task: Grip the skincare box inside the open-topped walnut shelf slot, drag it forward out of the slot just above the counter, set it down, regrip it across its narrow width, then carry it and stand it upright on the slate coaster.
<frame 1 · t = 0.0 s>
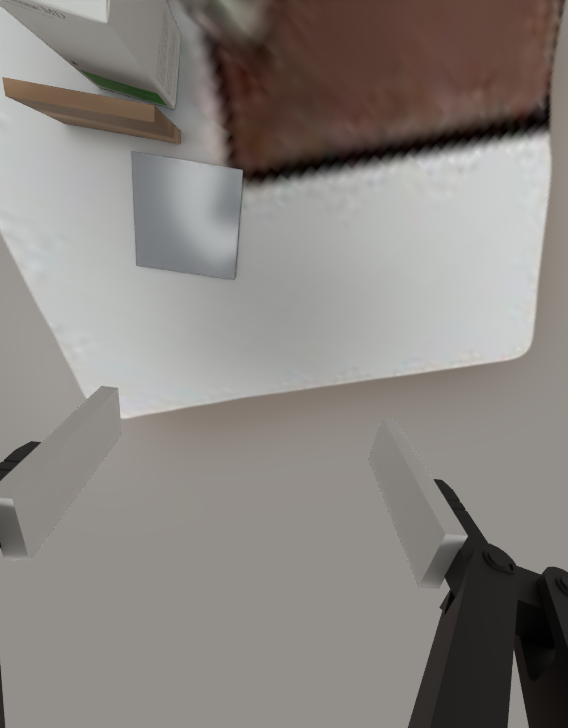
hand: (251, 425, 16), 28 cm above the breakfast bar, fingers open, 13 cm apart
walnut shelf slot: (119, 55, 31), on the breakfast bar
slate coaster: (188, 220, 37), on the breakfast bar
skincare box: (141, 60, 31), on the breakfast bar
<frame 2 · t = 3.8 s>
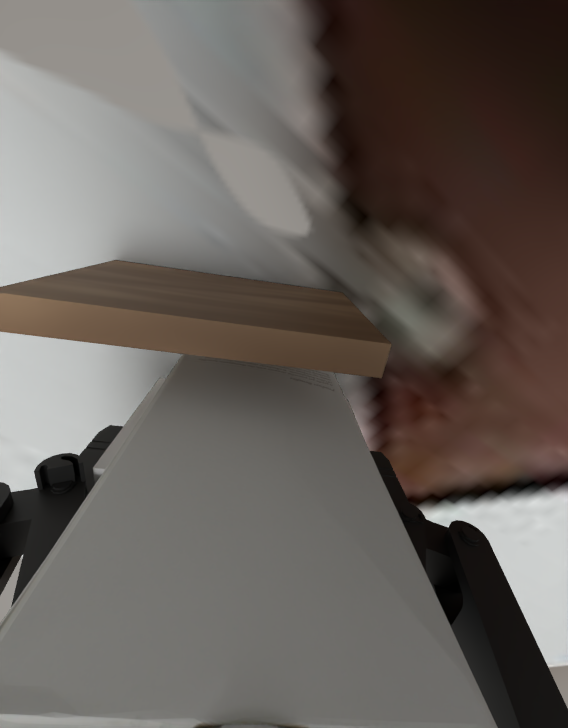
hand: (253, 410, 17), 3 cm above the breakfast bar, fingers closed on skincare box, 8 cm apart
walnut shelf slot: (224, 384, 19), on the breakfast bar
skincare box: (257, 386, 20), on the breakfast bar, touching gripper
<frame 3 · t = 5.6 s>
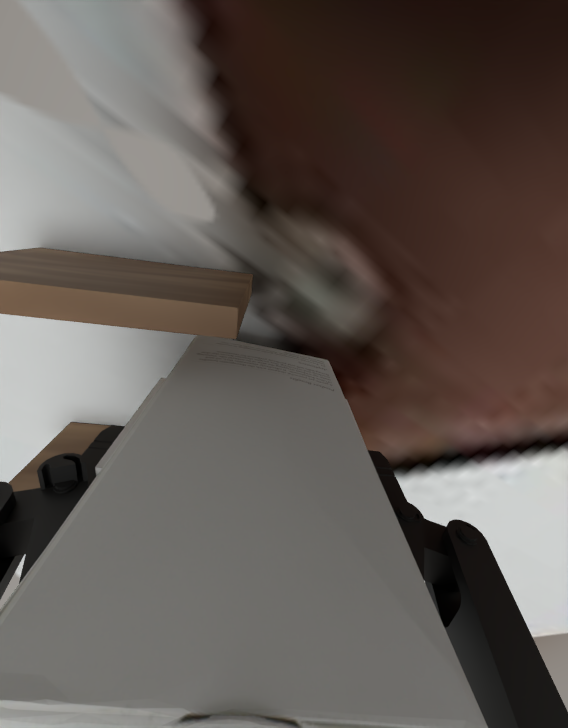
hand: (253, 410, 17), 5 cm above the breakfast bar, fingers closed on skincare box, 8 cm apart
walnut shelf slot: (153, 363, 21), on the breakfast bar
skincare box: (258, 386, 20), point 2 cm above the breakfast bar, touching gripper
when the fingers open (3 cm above the breakfast bar, at t = 7.5 s): skincare box stays where it is, on the breakfast bar.
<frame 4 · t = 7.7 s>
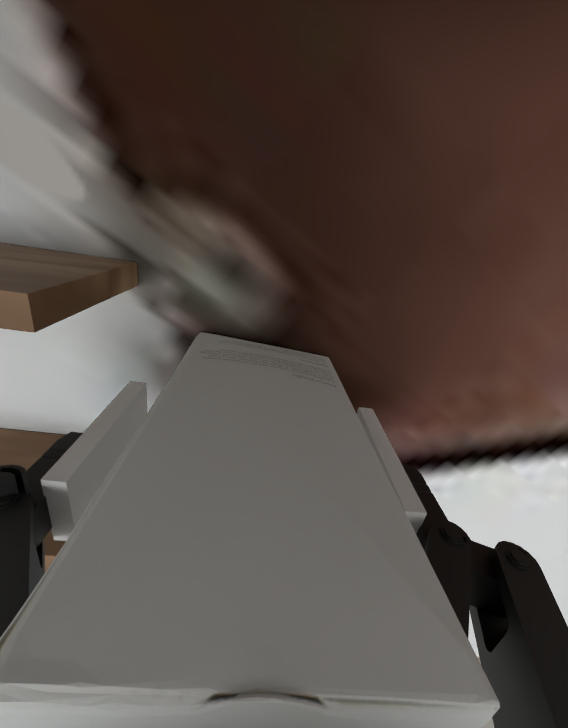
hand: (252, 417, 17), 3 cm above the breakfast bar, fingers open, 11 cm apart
walnut shelf slot: (37, 360, 19), on the breakfast bar
skincare box: (259, 384, 20), on the breakfast bar
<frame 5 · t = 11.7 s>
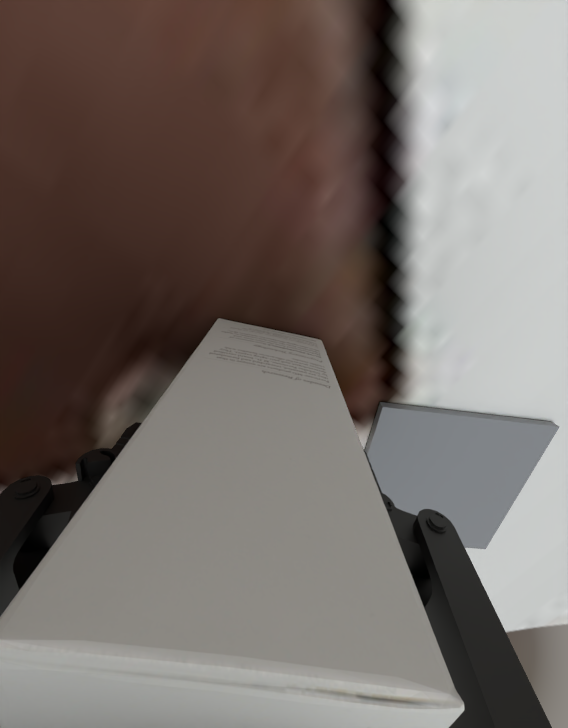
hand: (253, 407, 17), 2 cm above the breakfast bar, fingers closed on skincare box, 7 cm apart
slate coaster: (436, 480, 23), on the breakfast bar
skincare box: (255, 383, 20), on the breakfast bar, touching gripper
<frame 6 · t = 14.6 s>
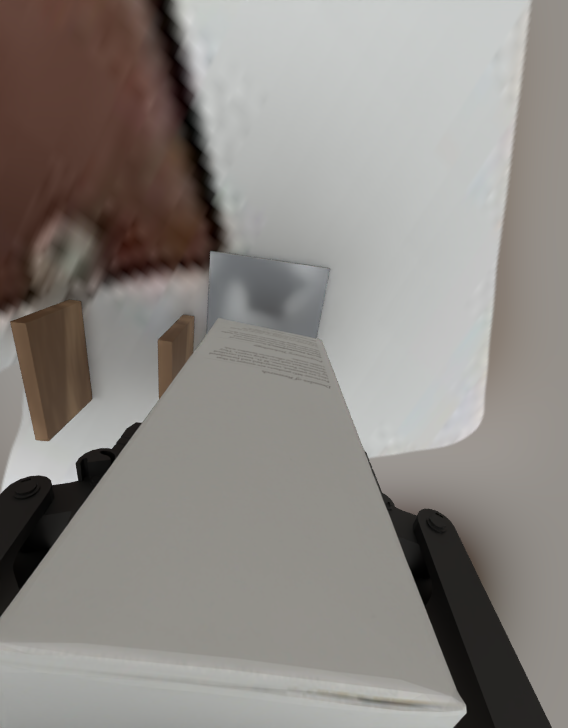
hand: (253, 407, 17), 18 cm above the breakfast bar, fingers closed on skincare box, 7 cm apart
walnut shelf slot: (135, 359, 36), on the breakfast bar
slate coaster: (264, 316, 34), on the breakfast bar
skincare box: (255, 383, 20), point 16 cm above the breakfast bar, touching gripper
when the fingers open (4 cm above the breakfast bar, at t = 17.4 s): skincare box drops 1 cm, resting on slate coaster.
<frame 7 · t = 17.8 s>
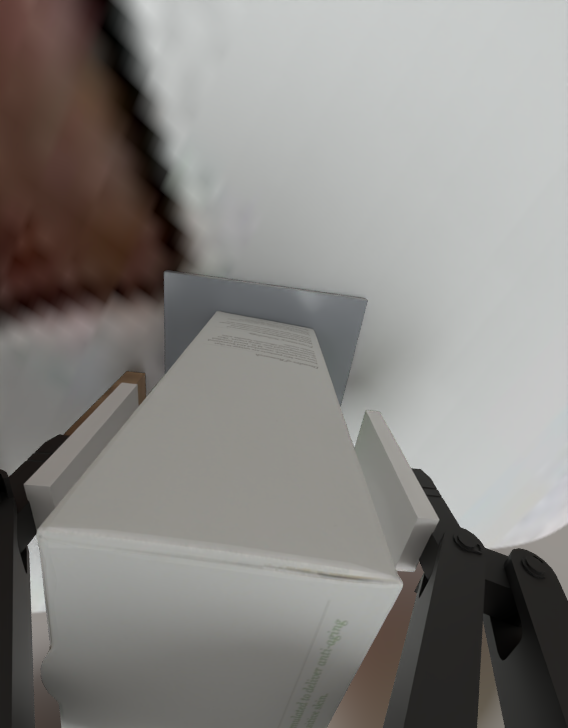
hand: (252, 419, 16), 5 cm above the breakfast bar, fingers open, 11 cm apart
walnut shelf slot: (56, 435, 23), on the breakfast bar
slate coaster: (257, 373, 21), on the breakfast bar
skincare box: (253, 372, 21), resting on slate coaster
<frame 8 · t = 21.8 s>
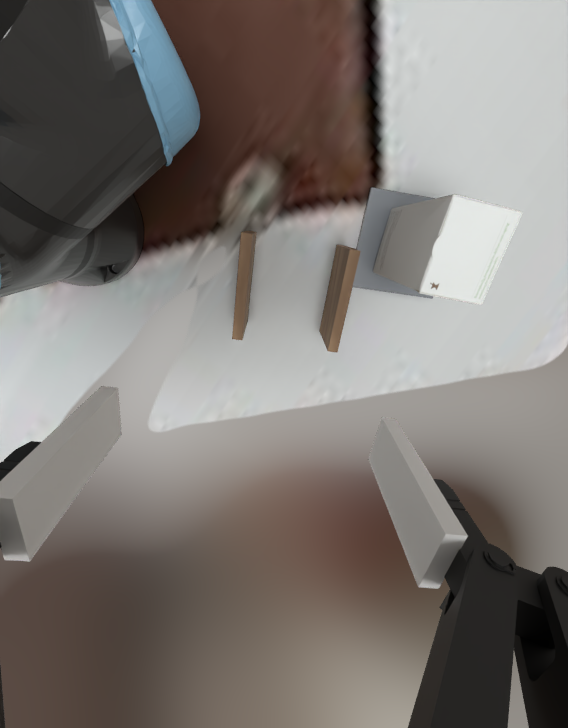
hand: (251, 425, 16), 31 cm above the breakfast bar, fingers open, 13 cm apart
walnut shelf slot: (290, 284, 43), on the breakfast bar
slate coaster: (402, 246, 42), on the breakfast bar
skincare box: (401, 244, 41), resting on slate coaster
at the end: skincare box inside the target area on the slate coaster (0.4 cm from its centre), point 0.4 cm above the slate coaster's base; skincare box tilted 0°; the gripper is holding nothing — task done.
